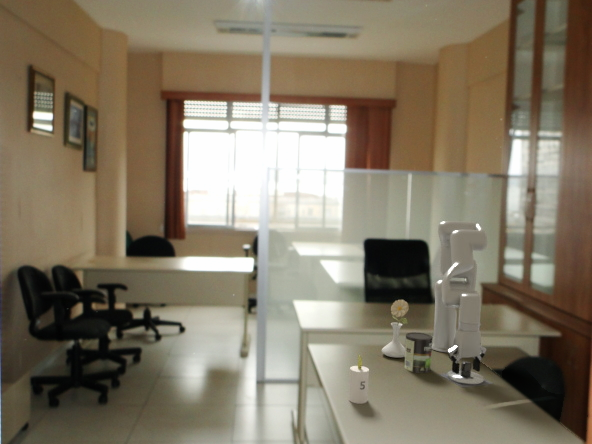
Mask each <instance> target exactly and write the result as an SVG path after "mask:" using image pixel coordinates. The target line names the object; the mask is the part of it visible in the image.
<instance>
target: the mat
mask: <svg viewBox="0 0 592 444" xmlns="http://www.w3.org/2000/svg"><path fill="white" fill-rule="evenodd" d="M447 374H448V372H447V373H439V374H438V376H440V377H441V378H445V379H446V380H447V381H449V382H452V383H454V384H455V385H457V386H459V387H461V388H463V389H464V388H472V387H473V388H474V387H479V386H480V387H482V386H487V385H493V384H494V383H493V382H492V381H489V380H486V379H485V378H484V382H483V384H481V385H464V384H459V383H456V382H453V381H451V380H450V379H448V377H447Z"/></svg>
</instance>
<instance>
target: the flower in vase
mask: <svg viewBox="0 0 592 444" xmlns="http://www.w3.org/2000/svg"><path fill="white" fill-rule="evenodd" d="M409 310H410V309H409V303H408V302H407V301H405V300H404V299H398V300H395V301H394V302H393V303H392V305H391V307H390V311H391V313H390V314H391V316H392V317H391V318H393V319H394V320H396V321H397V322H391V323H390V325H391V327H392V333H393V334H392V337H393V338H392V340H391V341H390V342H389V343H388V344H386V345H384V347H382V349H381V352H382V354H383V355H384V356H387V357H391V358H399V359H400V358H405V346H404V345H403V344H402V343H401V342H400V340H399V336H400V330H401V327H403V325H405V324H406V325H407V324H409V322H408V320H407V318H406V317H404V316H405V315H406V314H407V313H408V311H409ZM398 318H400V320H399V319H398Z"/></svg>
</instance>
